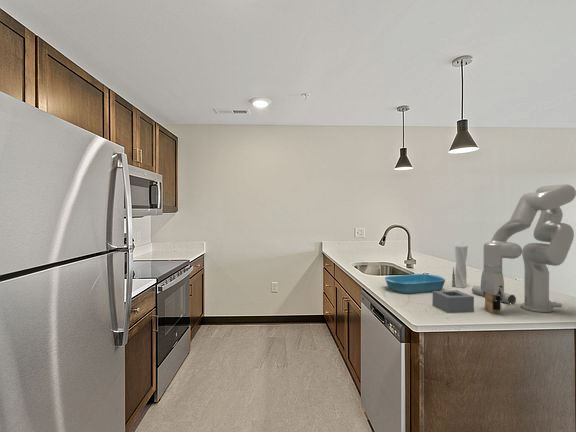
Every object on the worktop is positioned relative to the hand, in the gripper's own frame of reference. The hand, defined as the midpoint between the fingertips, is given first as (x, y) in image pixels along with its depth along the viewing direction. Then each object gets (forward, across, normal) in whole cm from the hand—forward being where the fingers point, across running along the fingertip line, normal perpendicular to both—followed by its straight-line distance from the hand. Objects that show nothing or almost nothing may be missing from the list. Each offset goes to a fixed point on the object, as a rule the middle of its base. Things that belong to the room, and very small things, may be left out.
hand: (492, 307), depth 157 cm
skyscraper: (+2, -51, +18) cm, 54 cm away
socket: (+2, -8, -15) cm, 17 cm away
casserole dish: (+2, -48, -14) cm, 50 cm away
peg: (+2, 0, 0) cm, 2 cm away
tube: (+2, -22, +17) cm, 28 cm away
